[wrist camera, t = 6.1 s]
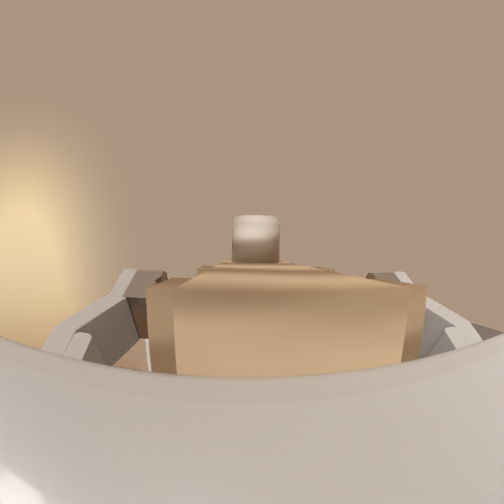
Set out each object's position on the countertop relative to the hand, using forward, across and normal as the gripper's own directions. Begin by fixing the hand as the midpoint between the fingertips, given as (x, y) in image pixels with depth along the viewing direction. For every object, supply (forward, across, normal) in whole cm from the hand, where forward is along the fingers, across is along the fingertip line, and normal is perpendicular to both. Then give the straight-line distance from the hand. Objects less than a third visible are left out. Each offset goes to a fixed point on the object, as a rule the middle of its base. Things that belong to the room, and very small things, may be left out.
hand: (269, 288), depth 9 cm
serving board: (+5, 0, +4) cm, 6 cm away
